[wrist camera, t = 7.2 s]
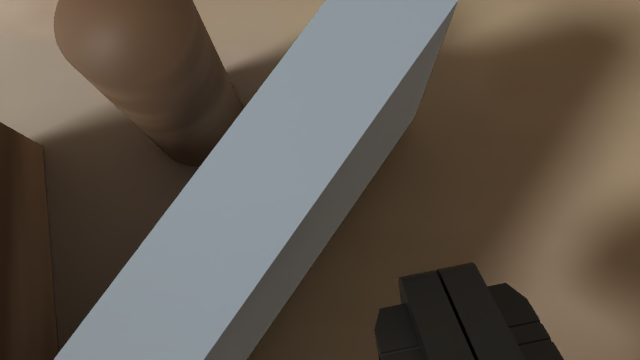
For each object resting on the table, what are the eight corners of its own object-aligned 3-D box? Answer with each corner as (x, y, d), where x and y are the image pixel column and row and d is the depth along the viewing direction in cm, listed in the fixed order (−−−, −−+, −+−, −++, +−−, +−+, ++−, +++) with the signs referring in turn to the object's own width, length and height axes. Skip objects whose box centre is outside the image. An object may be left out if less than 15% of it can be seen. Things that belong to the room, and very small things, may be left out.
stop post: (161, 173, 19) (59, 93, 12) (150, 89, 20) (48, -32, 13) (251, 156, 19) (201, 66, 12) (237, 73, 20) (182, -57, 13)
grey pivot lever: (125, 549, 16) (-54, 743, 9) (55, 490, 17) (-171, 627, 9) (419, 123, 19) (468, -1, 11) (352, 81, 19) (359, -65, 12)
